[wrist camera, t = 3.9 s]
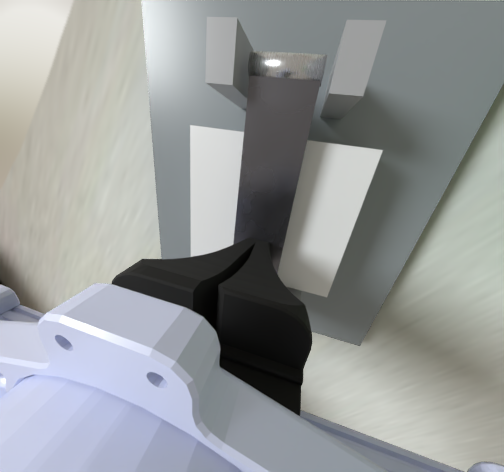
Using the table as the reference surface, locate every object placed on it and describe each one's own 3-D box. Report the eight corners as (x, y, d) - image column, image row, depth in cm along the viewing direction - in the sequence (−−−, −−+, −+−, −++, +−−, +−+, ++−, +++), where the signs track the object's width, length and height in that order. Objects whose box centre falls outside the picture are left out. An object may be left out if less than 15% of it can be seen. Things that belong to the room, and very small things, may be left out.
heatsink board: (356, 334, 18) (378, 412, 13) (170, 280, 22) (125, 323, 16) (520, 18, 9) (847, -189, 4) (155, 12, 13) (38, -98, 7)
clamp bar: (269, 311, 14) (266, 327, 13) (230, 300, 15) (223, 313, 14) (326, 60, 8) (330, 44, 7) (255, 56, 9) (247, 40, 7)
